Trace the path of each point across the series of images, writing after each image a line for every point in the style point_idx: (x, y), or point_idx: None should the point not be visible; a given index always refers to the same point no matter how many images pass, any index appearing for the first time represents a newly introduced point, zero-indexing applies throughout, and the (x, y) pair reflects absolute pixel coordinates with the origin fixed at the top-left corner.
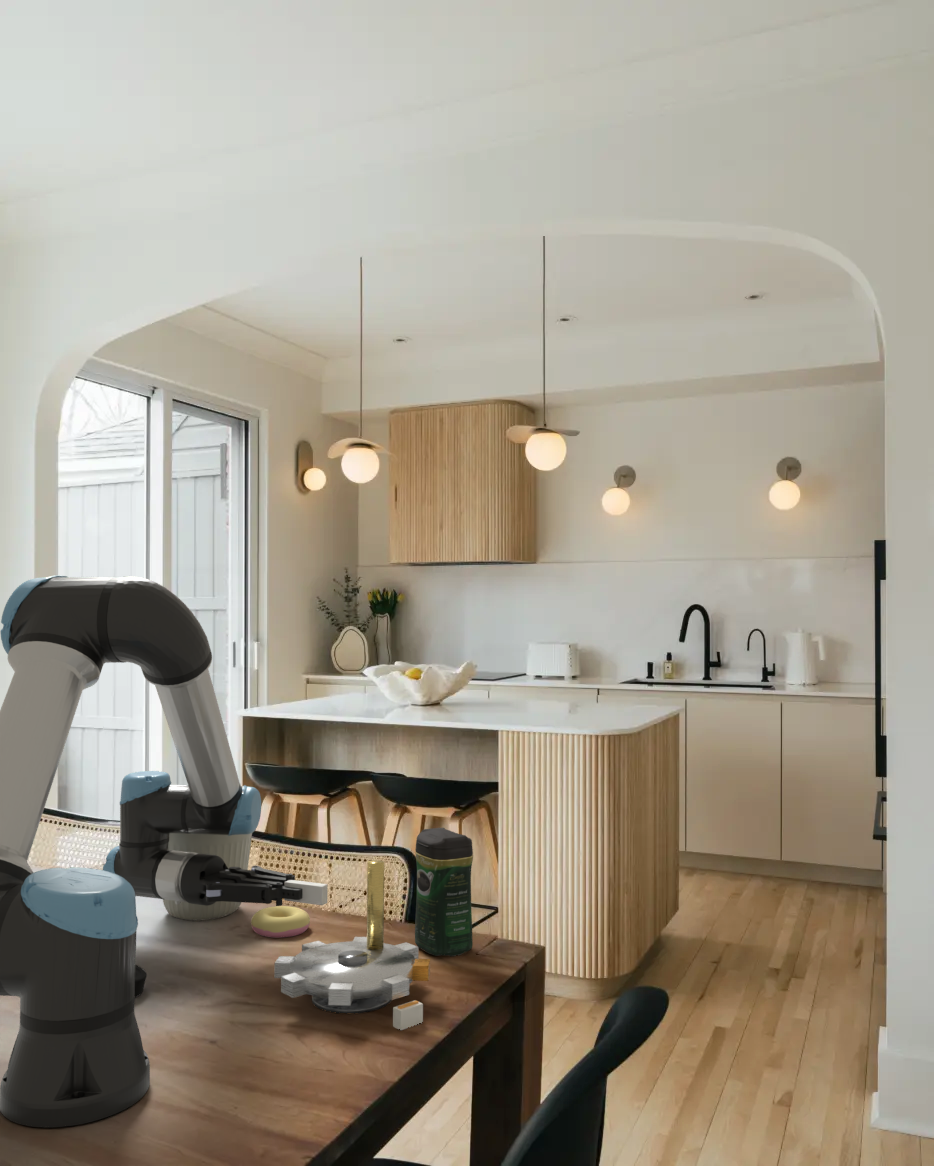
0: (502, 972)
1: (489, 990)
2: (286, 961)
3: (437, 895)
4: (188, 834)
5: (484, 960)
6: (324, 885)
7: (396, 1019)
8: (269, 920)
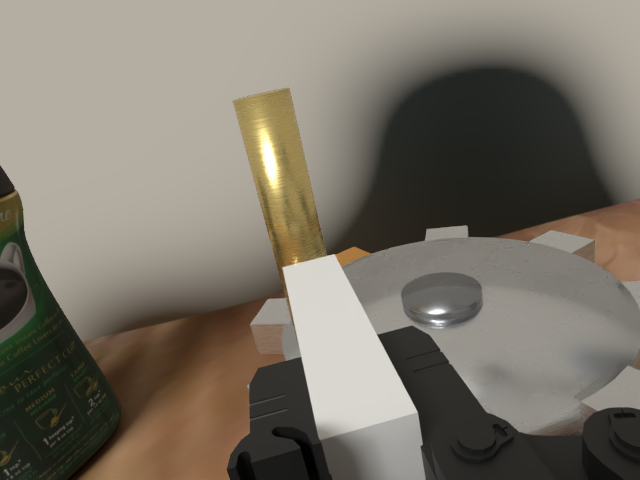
0: (175, 326)
1: (262, 299)
2: (634, 383)
3: (49, 295)
4: None
5: (116, 369)
6: (309, 261)
7: None
8: None
